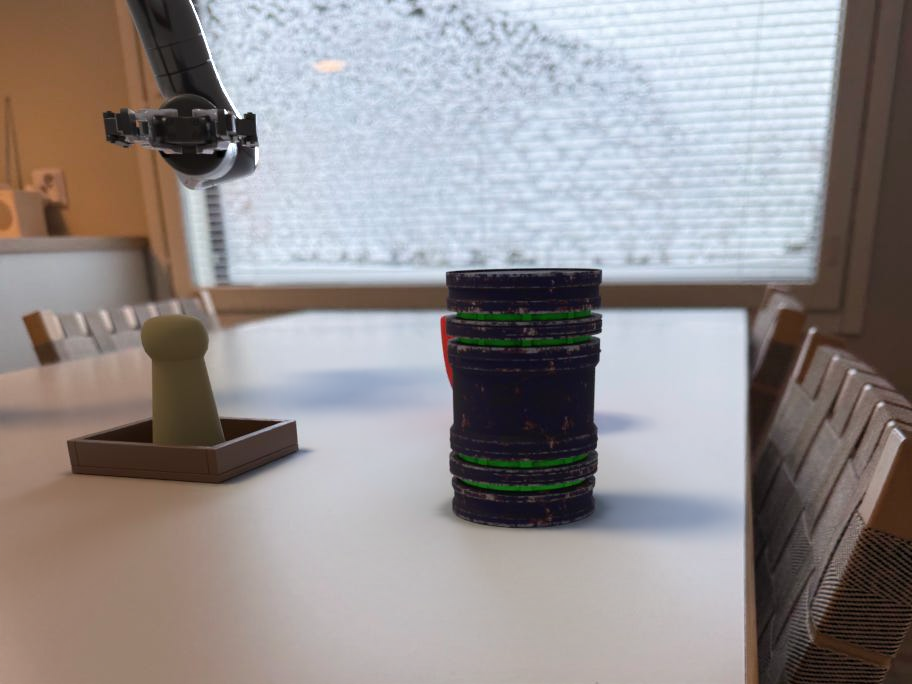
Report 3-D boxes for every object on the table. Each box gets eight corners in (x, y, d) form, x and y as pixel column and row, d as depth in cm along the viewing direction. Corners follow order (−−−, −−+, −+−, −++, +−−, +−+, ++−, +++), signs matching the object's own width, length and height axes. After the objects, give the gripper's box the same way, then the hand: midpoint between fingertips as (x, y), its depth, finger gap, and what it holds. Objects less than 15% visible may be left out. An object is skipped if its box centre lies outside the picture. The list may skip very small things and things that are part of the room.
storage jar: (421, 506, 65) (411, 272, 59) (526, 482, 71) (527, 267, 65) (518, 537, 58) (518, 275, 52) (627, 508, 64) (638, 269, 58)
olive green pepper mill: (138, 459, 78) (116, 317, 73) (176, 445, 83) (158, 312, 79) (205, 462, 76) (187, 317, 72) (240, 447, 82) (225, 312, 78)
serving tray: (72, 473, 76) (66, 440, 75) (166, 442, 87) (162, 413, 86) (219, 483, 72) (214, 449, 71) (299, 450, 83) (296, 420, 82)
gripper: (121, 98, 99) (85, 72, 84) (261, 100, 101) (249, 75, 86) (132, 178, 102) (99, 167, 87) (267, 178, 104) (257, 167, 89)
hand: (174, 121), depth 87 cm, fingers open, 8 cm apart
